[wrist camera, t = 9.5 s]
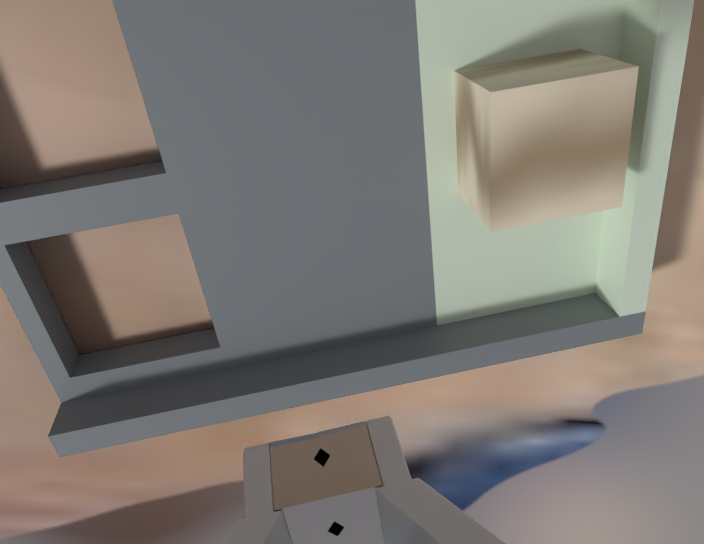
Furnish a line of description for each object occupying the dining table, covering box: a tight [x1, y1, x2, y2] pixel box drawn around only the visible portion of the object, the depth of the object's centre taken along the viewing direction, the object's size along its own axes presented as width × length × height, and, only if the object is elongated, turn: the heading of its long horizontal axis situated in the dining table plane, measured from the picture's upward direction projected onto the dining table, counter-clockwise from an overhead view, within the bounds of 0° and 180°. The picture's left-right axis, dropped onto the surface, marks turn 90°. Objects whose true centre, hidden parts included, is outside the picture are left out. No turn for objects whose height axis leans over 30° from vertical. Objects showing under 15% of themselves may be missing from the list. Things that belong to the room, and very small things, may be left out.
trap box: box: [0, 0, 695, 457], centre depth 27 cm, size 24×32×4 cm
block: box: [454, 49, 639, 232], centre depth 26 cm, size 6×6×4 cm
